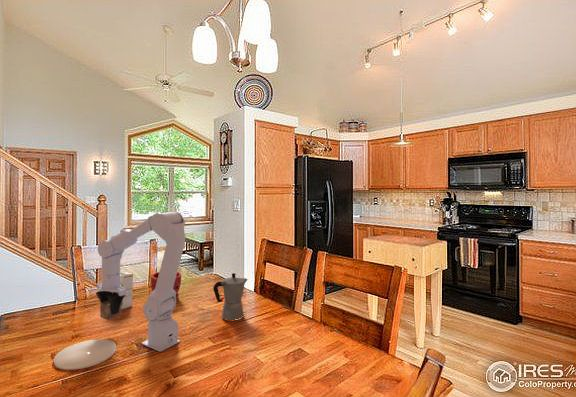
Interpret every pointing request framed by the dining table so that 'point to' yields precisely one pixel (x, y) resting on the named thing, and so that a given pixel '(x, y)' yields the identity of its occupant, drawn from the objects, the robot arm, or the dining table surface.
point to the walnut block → (108, 311)
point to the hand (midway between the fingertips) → (110, 312)
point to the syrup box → (127, 284)
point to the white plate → (84, 354)
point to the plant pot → (176, 284)
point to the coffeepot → (231, 297)
